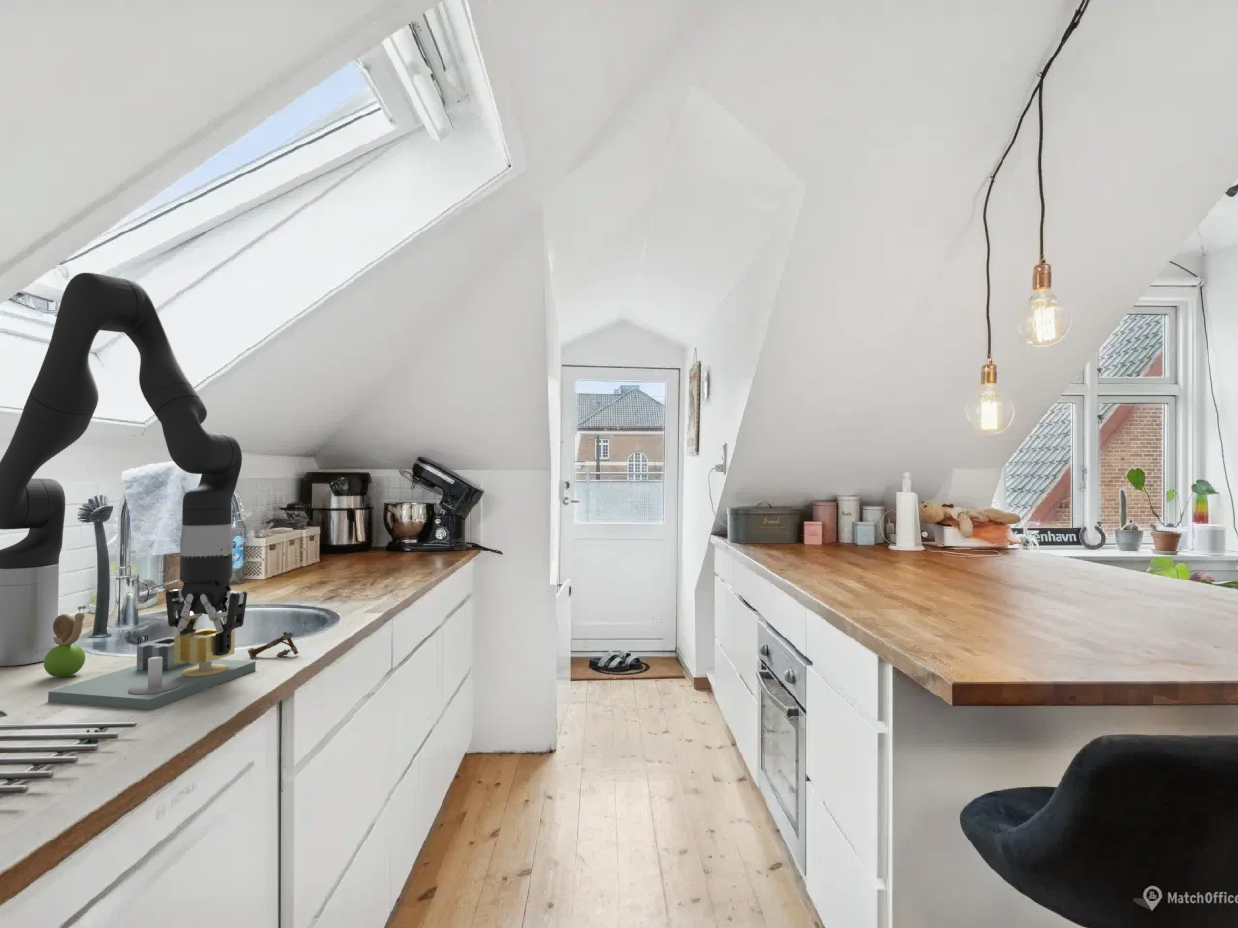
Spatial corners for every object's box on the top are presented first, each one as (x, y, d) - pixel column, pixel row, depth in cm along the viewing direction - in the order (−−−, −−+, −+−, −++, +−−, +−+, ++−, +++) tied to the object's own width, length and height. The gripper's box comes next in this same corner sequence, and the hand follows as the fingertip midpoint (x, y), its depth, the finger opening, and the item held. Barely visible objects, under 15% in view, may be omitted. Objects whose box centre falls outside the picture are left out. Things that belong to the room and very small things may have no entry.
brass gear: (169, 662, 109) (169, 637, 109) (208, 650, 117) (208, 627, 117) (201, 664, 108) (201, 639, 108) (238, 652, 116) (239, 628, 116)
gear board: (48, 701, 101) (49, 661, 102) (167, 664, 122) (168, 630, 122) (149, 709, 98) (150, 667, 98) (255, 670, 118) (255, 635, 119)
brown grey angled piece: (301, 652, 127) (290, 629, 127) (257, 672, 126) (246, 649, 126) (304, 649, 129) (293, 627, 129) (260, 669, 128) (250, 647, 128)
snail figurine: (64, 682, 111) (66, 608, 111) (34, 680, 112) (36, 607, 113) (97, 673, 116) (99, 603, 116) (68, 671, 118) (70, 601, 118)
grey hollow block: (132, 670, 113) (132, 645, 113) (172, 657, 121) (173, 635, 121) (162, 672, 112) (163, 647, 112) (201, 659, 119) (202, 636, 120)
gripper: (150, 553, 111) (148, 657, 110) (226, 555, 108) (225, 661, 108) (188, 548, 118) (187, 646, 118) (260, 550, 115) (259, 650, 115)
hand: (205, 653), depth 113 cm, fingers closed on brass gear, 6 cm apart
